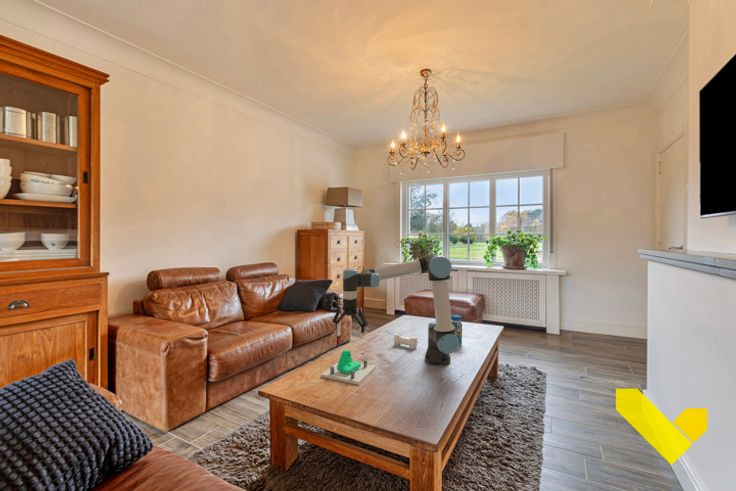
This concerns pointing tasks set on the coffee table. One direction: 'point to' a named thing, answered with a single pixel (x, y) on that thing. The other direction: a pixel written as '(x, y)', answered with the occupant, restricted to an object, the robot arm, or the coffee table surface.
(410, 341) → the dog bone
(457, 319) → the beverage bottle
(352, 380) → the stub plate
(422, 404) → the coffee table surface
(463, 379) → the coffee table surface
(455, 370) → the coffee table surface
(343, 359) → the camera mount
